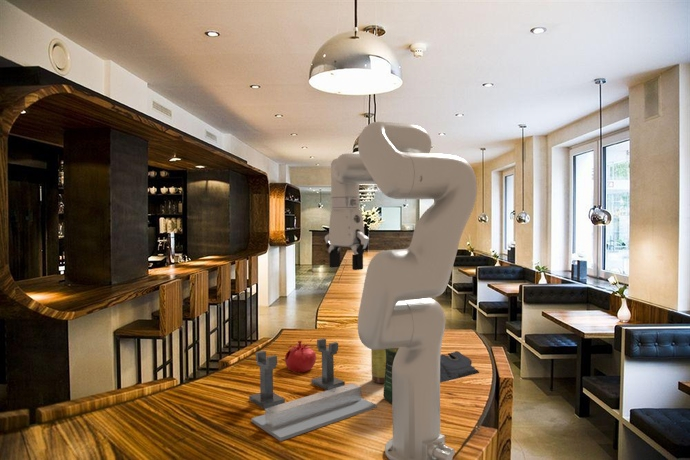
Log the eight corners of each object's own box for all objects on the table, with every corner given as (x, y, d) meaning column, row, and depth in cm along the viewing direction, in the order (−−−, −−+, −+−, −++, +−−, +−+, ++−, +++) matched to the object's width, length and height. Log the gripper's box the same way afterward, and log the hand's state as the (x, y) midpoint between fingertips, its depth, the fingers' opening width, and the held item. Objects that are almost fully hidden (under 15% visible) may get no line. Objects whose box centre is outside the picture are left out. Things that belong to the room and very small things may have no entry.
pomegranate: (321, 367, 153) (321, 338, 152) (306, 376, 144) (306, 345, 143) (295, 363, 157) (295, 335, 157) (278, 371, 148) (279, 341, 148)
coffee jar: (396, 408, 118) (395, 334, 118) (379, 398, 125) (378, 328, 125) (426, 400, 123) (426, 329, 122) (408, 391, 130) (408, 324, 129)
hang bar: (361, 400, 121) (360, 386, 121) (273, 428, 105) (272, 413, 105) (352, 396, 124) (352, 383, 124) (265, 423, 108) (265, 408, 108)
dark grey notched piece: (397, 372, 147) (397, 357, 147) (448, 361, 159) (448, 347, 159) (431, 387, 134) (431, 370, 134) (484, 373, 146) (484, 358, 146)
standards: (344, 385, 135) (344, 342, 134) (264, 409, 118) (263, 359, 118) (327, 378, 141) (327, 337, 140) (249, 400, 124) (248, 353, 124)
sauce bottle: (391, 385, 135) (391, 315, 134) (370, 383, 136) (369, 315, 135) (394, 377, 141) (393, 311, 141) (373, 376, 142) (372, 311, 142)
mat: (376, 407, 118) (376, 404, 118) (280, 441, 101) (280, 437, 101) (343, 393, 128) (343, 390, 128) (251, 421, 111) (251, 418, 111)
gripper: (377, 203, 122) (378, 269, 122) (336, 205, 136) (337, 265, 136) (355, 203, 117) (356, 271, 118) (315, 205, 131) (315, 267, 131)
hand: (345, 268), depth 127 cm, fingers open, 9 cm apart
